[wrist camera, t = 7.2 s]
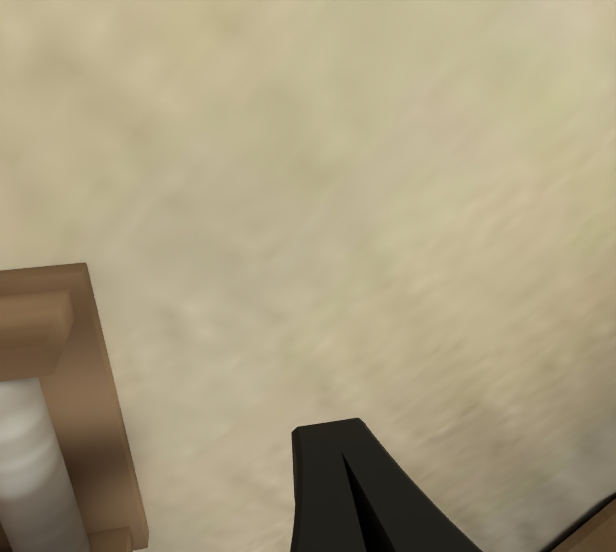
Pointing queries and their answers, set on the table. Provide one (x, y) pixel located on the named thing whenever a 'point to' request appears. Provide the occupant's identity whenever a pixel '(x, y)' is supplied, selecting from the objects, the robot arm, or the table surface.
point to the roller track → (61, 422)
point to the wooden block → (594, 533)
